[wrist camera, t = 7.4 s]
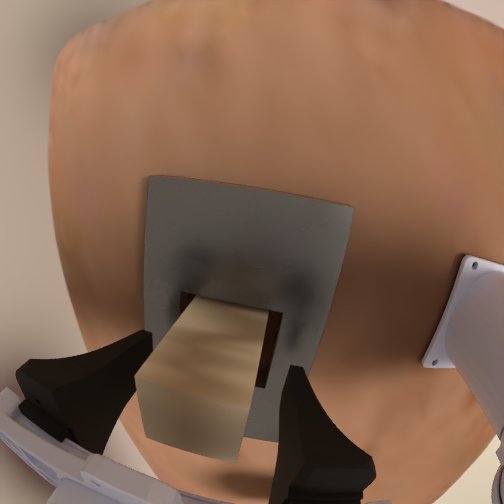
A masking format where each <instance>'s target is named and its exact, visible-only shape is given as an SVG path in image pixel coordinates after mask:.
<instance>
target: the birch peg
mask: <svg viewBox="0 0 504 504" xmlns="http://www.w3.org/2000/svg"><path fill="white" fill-rule="evenodd" d="M268 314H269V310H267V309H262V308H257V307H252V306H247V305H242V304H237V303H232V302H228V301H223V300H218V299H214V298H209V297H205V296H200V295H196V297H195V298H194V299H193V300H192V302H191V303H190V304H189V306H188V307H187V308H186V309H185V311H184V312H183V313H182V314H181V316H180V317H179V318H178V320H177V321H176V322H175V323H174V325H173V326H172V327H171V329H170V330H169V331H168V333H167V334H166V335H165V336H164V338H163V339H162V340H161V342H160V343H159V344H158V346H157V347H156V348H155V349H154V351H153V352H152V353H151V355H150V356H149V357H148V359H147V360H146V361H145V363H144V364H143V365H142V366H141V368H140V369H139V370H138V372H137V373H136V374H135V376H134V377H135V383H136V390H137V396H138V401H139V407H140V412H141V417H142V422H143V426H144V431H145V435H146V437H147V438H149V439H152V440H155V441H157V442H160V443H163V444H166V445H169V446H172V447H175V448H178V449H181V450H185V451H188V452H192V453H195V454H199V455H202V456H206V457H210V458H214V459H219V460H223V461H227V462H232V463H236V462H237V458H238V454H239V450H240V447H241V443H242V439H243V435H244V431H245V427H246V423H247V418H248V414H249V410H250V406H251V401H252V396H253V391H254V386H255V381H256V376H257V371H258V366H259V361H260V356H261V351H262V346H263V340H264V335H265V330H266V324H267V319H268Z"/></svg>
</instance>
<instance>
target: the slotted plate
mask: <svg viewBox="0 0 504 504" xmlns="http://www.w3.org/2000/svg"><path fill="white" fill-rule="evenodd" d="M354 210H355V208H354V207H352V206H350V205H346V204H342V203H337V202H332V201H328V200H323V199H318V198H313V197H308V196H302V195H297V194H292V193H286V192H280V191H275V190H269V189H263V188H257V187H250V186H244V185H237V184H230V183H223V182H215V181H208V180H200V179H191V178H183V177H174V176H164V175H158V176H150V177H149V186H148V197H147V209H146V223H145V242H144V323H145V331H149V332H152V337H153V351H154V349H155V348H156V347H157V346H158V344H159V343H160V342H161V340H162V339H163V338H164V336H165V335H166V334H167V333H168V331H169V330H170V329H171V327H172V326H173V325H174V323H175V322H176V321H177V320H178V318H179V317H180V316H181V314H182V313H183V312H184V311H185V309H186V308H187V307H188V302H189V293H192V294H196V295H200V296H205V297H209V298H214V299H218V300H223V301H228V302H232V303H237V304H242V305H247V306H252V307H257V308H262V309H267V310H273V311H278V312H282V315H281V319H280V324H279V328H278V332H277V336H276V341H275V345H274V349H273V353H272V357H271V361H270V365H269V369H268V373H262V372H257V376H256V381H255V386H254V391H253V396H252V401H251V406H250V410H249V414H248V418H247V423H246V427H245V431H244V435H243V437H247V438H253V439H259V440H265V441H271V442H278V443H279V407H280V400H281V393H282V390H283V387H284V384H285V380H286V377H287V374H288V371H289V368H290V365H295V366H302V367H303V368H304V370H305V373H306V376H307V377H308V374H309V372H310V369H311V366H312V363H313V360H314V357H315V355H316V352H317V349H318V346H319V343H320V340H321V337H322V333H323V330H324V327H325V324H326V321H327V317H328V314H329V311H330V307H331V304H332V300H333V297H334V293H335V290H336V286H337V282H338V279H339V275H340V271H341V267H342V263H343V259H344V255H345V251H346V247H347V243H348V238H349V234H350V229H351V225H352V220H353V215H354Z"/></svg>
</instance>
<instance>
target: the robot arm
mask: <svg viewBox="0 0 504 504" xmlns="http://www.w3.org/2000/svg"><path fill="white" fill-rule="evenodd" d="M474 262H475V264H474V266H473V267H472V265H473V263H474ZM152 352H153V337H152V332H149V331H145V330H140V331H138V332H136V333H134V334H131V335H129V336H127V337H125V338H123V339H121V340H119V341H117V342H115V343H112V344H110V345H108V346H105V347H103V348H100V349H98V350H95V351H92V352H89V353H85V354H81V355H77V356H72V357H67V358H59V359H29V360H28V361H27V362H26V363H25V364H23V365H22V366H21V367H20V368H19V369H17V370H16V379H17V381H18V384H19V385H20V388H21V390H22V392H23V394H24V396H25V398H26V399H25V400H24V401H23V402H22V400H21V399H20V398H19V397H18V396H17V395H16V394H15V393H14V392H12V391H11V390H10V389H9V388H7V387H6V388H5V389H4V390H3V391H2V392H1V393H0V438H1V440H2V441H4V442H5V444H6V445H8V446H9V447H10V448H11V449H12V450H13V451H14V452H15V453H16V454H17V455H18V456H19V457H20V458H21V459H23V460H24V461H25V462H26V463H27V464H28V465H29V466H30V467H32V468H33V469H34V470H35V471H36V472H38V473H39V474H40V475H41V476H42V477H44V478H45V479H46V480H47V481H49V482H50V483H51V484H53V485H54V486H55V487H57V488H56V490H55V491H54V492H53V494H52V495H51V497H50V498H49V500H48V501H47V503H46V504H233V503H228V502H223V501H218V500H214V499H210V498H206V497H202V496H198V495H194V494H191V493H187V492H184V491H180V490H177V489H175V488H173V487H172V486H170V485H169V484H167V483H165V482H162V481H160V480H158V479H156V478H153V477H150V476H148V475H145V474H143V473H140V472H138V471H135V470H133V469H130V468H128V467H126V466H124V465H122V464H120V463H117V462H115V461H113V460H111V459H109V458H107V457H105V456H102V454H103V451H104V449H105V446H106V444H107V441H108V439H109V437H110V435H111V432H112V430H113V428H114V426H115V424H116V422H117V420H118V418H119V416H120V414H121V413H122V411H123V409H124V407H125V406H126V404H127V403H128V401H129V400H130V399H131V397H132V396H133V394H134V393H135V392H136V383H135V377H134V376H135V374H136V373H137V372H138V370H139V369H140V368H141V366H142V365H143V364H144V363H145V361H146V360H147V359H148V357H149V356H150V355H151V353H152ZM434 360H435V361H434ZM433 361H434V362H433ZM422 365H423V366H424V367H425V368H456V369H457V370H458V372H459V373H460V375H461V376H462V378H463V379H464V381H465V382H466V384H467V385H468V387H469V389H470V390H471V392H472V393H473V395H474V396H475V398H476V400H477V401H478V403H479V405H480V406H481V408H482V410H483V411H484V413H485V415H486V416H487V418H488V420H489V422H490V423H491V425H492V427H493V429H494V430H495V432H496V434H497V436H498V438H499V440H500V441H501V445H500V447H499V448H498V450H497V451H496V454H497V457H498V459H499V461H500V463H501V465H500V466H499V469H498V470H497V473H496V475H495V478H494V481H493V485H492V496H491V498H492V504H504V265H502V264H499V263H495V262H492V261H489V260H485V259H482V258H478V257H475V256H471V255H466V256H465V257H464V258H463V259H462V262H461V265H460V268H459V272H458V275H457V278H456V281H455V284H454V287H453V290H452V292H451V295H450V298H449V301H448V303H447V306H446V308H445V311H444V313H443V316H442V318H441V321H440V323H439V325H438V328H437V330H436V332H435V334H434V337H433V339H432V341H431V343H430V345H429V347H428V349H427V351H426V353H425V355H424V357H423V359H422ZM375 478H376V470H375V465H374V462H373V459H372V456H370V455H369V454H367V453H366V452H364V451H363V450H361V449H360V448H359V447H357V446H356V445H355V444H354V443H353V442H351V441H350V440H349V439H348V438H347V437H346V436H345V435H344V434H343V433H342V432H341V431H340V430H339V429H338V428H337V427H336V425H335V424H334V423H333V422H332V420H331V419H330V418H329V416H328V415H327V414H326V412H325V411H324V409H323V407H322V406H321V404H320V403H319V401H318V399H317V397H316V395H315V393H314V391H313V389H312V387H311V385H310V383H309V381H308V378H307V376H306V373H305V370H304V368H303V367H302V366H295V365H290V368H289V371H288V374H287V377H286V380H285V384H284V387H283V390H282V393H281V400H280V407H279V445H278V455H277V461H276V468H275V474H274V479H273V485H272V490H271V495H270V499H269V504H361V502H360V500H361V499H363V490H364V489H365V488H367V487H368V486H369V485H370V484H371V483H372V482H373V481H374V479H375ZM366 504H391V501H390V500H386V501H379V502H371V503H366Z"/></svg>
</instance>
